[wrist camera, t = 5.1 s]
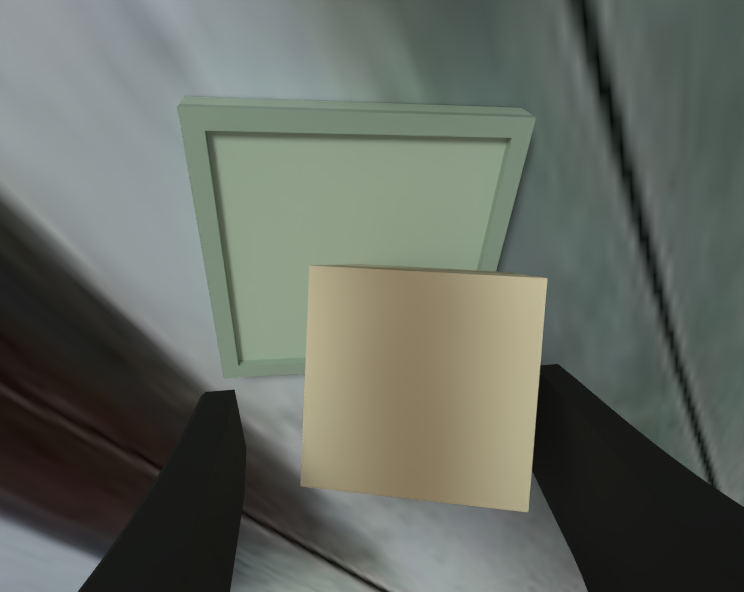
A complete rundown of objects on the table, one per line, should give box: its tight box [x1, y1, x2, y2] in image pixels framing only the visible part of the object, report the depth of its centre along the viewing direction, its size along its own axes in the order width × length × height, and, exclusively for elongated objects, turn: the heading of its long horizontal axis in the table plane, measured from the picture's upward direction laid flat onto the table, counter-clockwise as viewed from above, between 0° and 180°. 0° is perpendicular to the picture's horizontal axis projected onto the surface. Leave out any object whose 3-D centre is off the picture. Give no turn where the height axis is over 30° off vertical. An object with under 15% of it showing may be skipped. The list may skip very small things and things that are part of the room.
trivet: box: [177, 96, 536, 378], centre depth 16 cm, size 10×10×1 cm
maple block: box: [301, 264, 547, 512], centre depth 13 cm, size 5×5×6 cm
